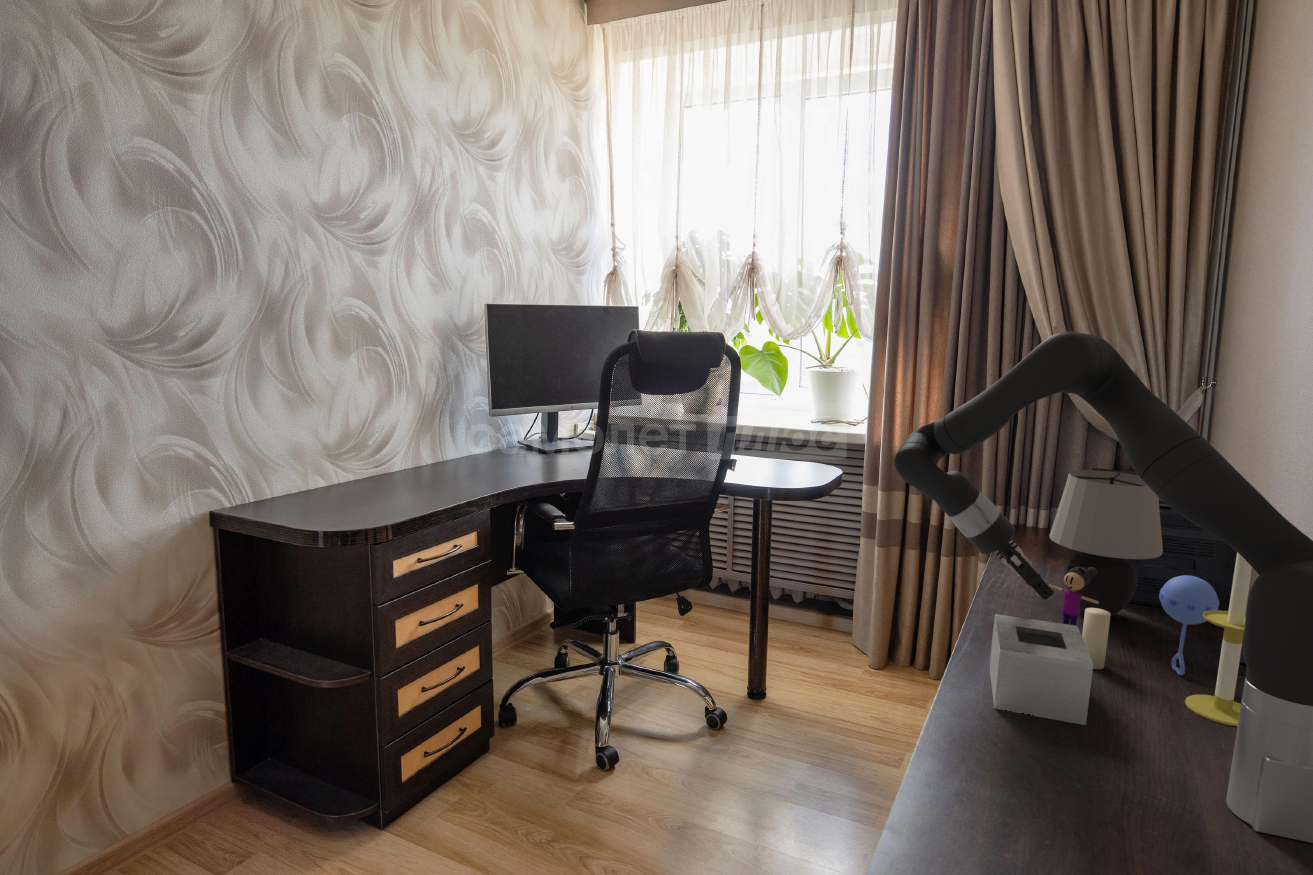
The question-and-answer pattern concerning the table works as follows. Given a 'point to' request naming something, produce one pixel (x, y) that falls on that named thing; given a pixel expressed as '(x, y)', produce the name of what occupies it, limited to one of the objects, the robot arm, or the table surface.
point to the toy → (1075, 592)
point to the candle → (1227, 652)
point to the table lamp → (1108, 532)
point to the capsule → (1096, 635)
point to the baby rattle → (1187, 606)
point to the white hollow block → (1040, 669)
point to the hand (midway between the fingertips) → (1041, 587)
